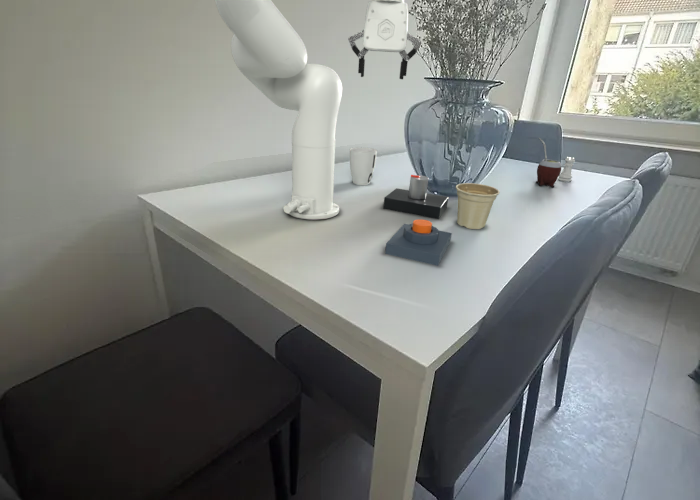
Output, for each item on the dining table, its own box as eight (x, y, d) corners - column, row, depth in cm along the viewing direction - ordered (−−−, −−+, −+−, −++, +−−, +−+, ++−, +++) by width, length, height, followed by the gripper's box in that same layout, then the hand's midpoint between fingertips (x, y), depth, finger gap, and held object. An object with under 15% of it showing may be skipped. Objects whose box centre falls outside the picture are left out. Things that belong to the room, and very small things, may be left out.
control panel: (446, 208, 101) (448, 196, 100) (438, 219, 92) (440, 207, 91) (395, 198, 106) (396, 188, 104) (383, 209, 97) (384, 197, 96)
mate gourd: (560, 186, 129) (573, 140, 123) (547, 189, 125) (560, 141, 119) (539, 181, 135) (551, 136, 128) (526, 183, 130) (538, 137, 124)
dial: (427, 196, 99) (430, 175, 97) (423, 200, 95) (426, 179, 93) (410, 193, 100) (413, 173, 98) (406, 197, 97) (408, 176, 94)
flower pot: (467, 234, 84) (474, 196, 81) (441, 219, 92) (447, 184, 89) (500, 230, 88) (509, 193, 84) (473, 216, 96) (479, 182, 92)
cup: (374, 187, 115) (377, 153, 111) (347, 185, 115) (349, 151, 111) (373, 180, 122) (376, 148, 118) (348, 178, 122) (349, 146, 118)
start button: (428, 236, 73) (429, 227, 72) (409, 232, 74) (411, 223, 73) (432, 229, 76) (434, 221, 75) (414, 226, 77) (415, 218, 76)
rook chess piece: (558, 178, 140) (564, 155, 137) (572, 180, 138) (578, 157, 135) (556, 180, 137) (562, 157, 134) (570, 182, 135) (577, 159, 131)
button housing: (438, 266, 70) (441, 245, 68) (385, 253, 73) (387, 234, 71) (450, 242, 80) (453, 224, 78) (403, 233, 83) (405, 215, 81)
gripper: (349, -10, 85) (345, 76, 93) (428, -5, 85) (418, 80, 92) (351, -4, 92) (347, 75, 99) (424, 1, 92) (415, 79, 99)
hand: (381, 78), depth 96 cm, fingers open, 9 cm apart
